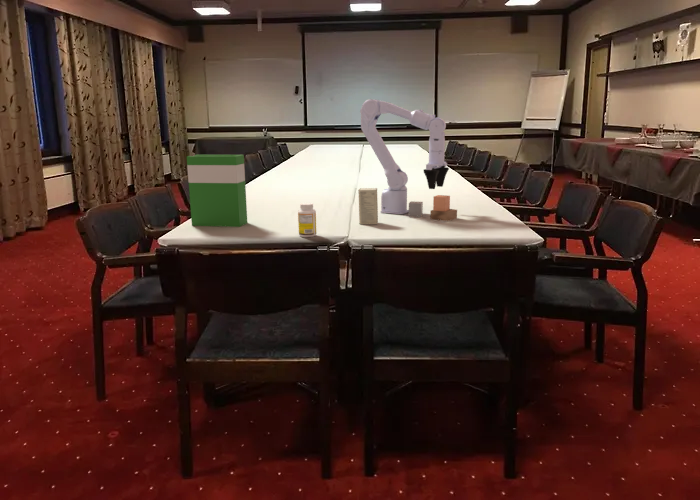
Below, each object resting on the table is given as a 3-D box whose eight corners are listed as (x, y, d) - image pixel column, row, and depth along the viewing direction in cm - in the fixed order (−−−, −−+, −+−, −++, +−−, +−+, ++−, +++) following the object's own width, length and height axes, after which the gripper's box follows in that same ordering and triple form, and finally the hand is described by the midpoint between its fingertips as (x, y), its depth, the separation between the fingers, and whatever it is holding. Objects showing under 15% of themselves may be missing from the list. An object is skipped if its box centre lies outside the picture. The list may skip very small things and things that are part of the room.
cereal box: (191, 225, 201) (186, 156, 195) (201, 221, 208) (196, 154, 202) (239, 226, 197) (235, 156, 192) (247, 222, 205) (243, 154, 199)
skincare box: (378, 222, 202) (378, 187, 199) (376, 224, 198) (376, 189, 195) (360, 222, 203) (360, 187, 200) (358, 224, 199) (358, 189, 196)
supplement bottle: (307, 233, 185) (306, 201, 183) (320, 235, 182) (319, 203, 179) (295, 236, 181) (293, 204, 179) (307, 238, 178) (306, 205, 175)
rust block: (433, 210, 207) (433, 196, 205) (437, 208, 210) (438, 195, 209) (445, 211, 204) (445, 197, 203) (449, 209, 208) (450, 195, 207)
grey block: (408, 216, 213) (408, 203, 212) (410, 214, 218) (410, 201, 216) (420, 216, 212) (420, 203, 211) (422, 214, 216) (422, 201, 215)
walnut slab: (430, 220, 207) (430, 210, 206) (439, 217, 213) (439, 207, 212) (447, 222, 203) (447, 212, 202) (456, 219, 208) (457, 209, 208)
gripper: (439, 152, 205) (438, 190, 208) (454, 150, 217) (453, 186, 220) (421, 152, 208) (420, 189, 211) (436, 149, 220) (435, 185, 223)
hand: (435, 187), depth 216 cm, fingers open, 7 cm apart
